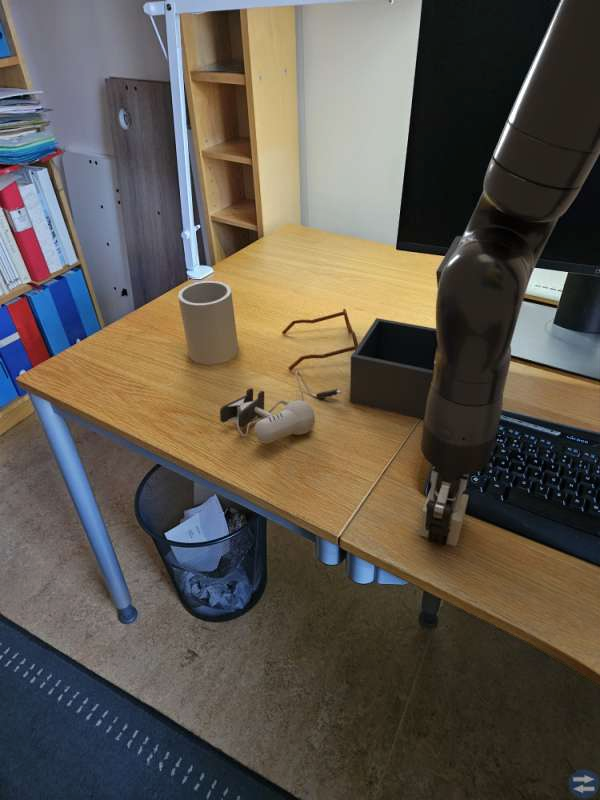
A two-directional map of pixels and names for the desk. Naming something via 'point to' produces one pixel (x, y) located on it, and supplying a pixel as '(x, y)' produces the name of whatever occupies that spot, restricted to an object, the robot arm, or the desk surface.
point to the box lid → (447, 258)
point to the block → (456, 519)
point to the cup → (209, 322)
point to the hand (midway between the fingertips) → (441, 525)
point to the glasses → (329, 352)
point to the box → (394, 367)
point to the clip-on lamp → (273, 427)
